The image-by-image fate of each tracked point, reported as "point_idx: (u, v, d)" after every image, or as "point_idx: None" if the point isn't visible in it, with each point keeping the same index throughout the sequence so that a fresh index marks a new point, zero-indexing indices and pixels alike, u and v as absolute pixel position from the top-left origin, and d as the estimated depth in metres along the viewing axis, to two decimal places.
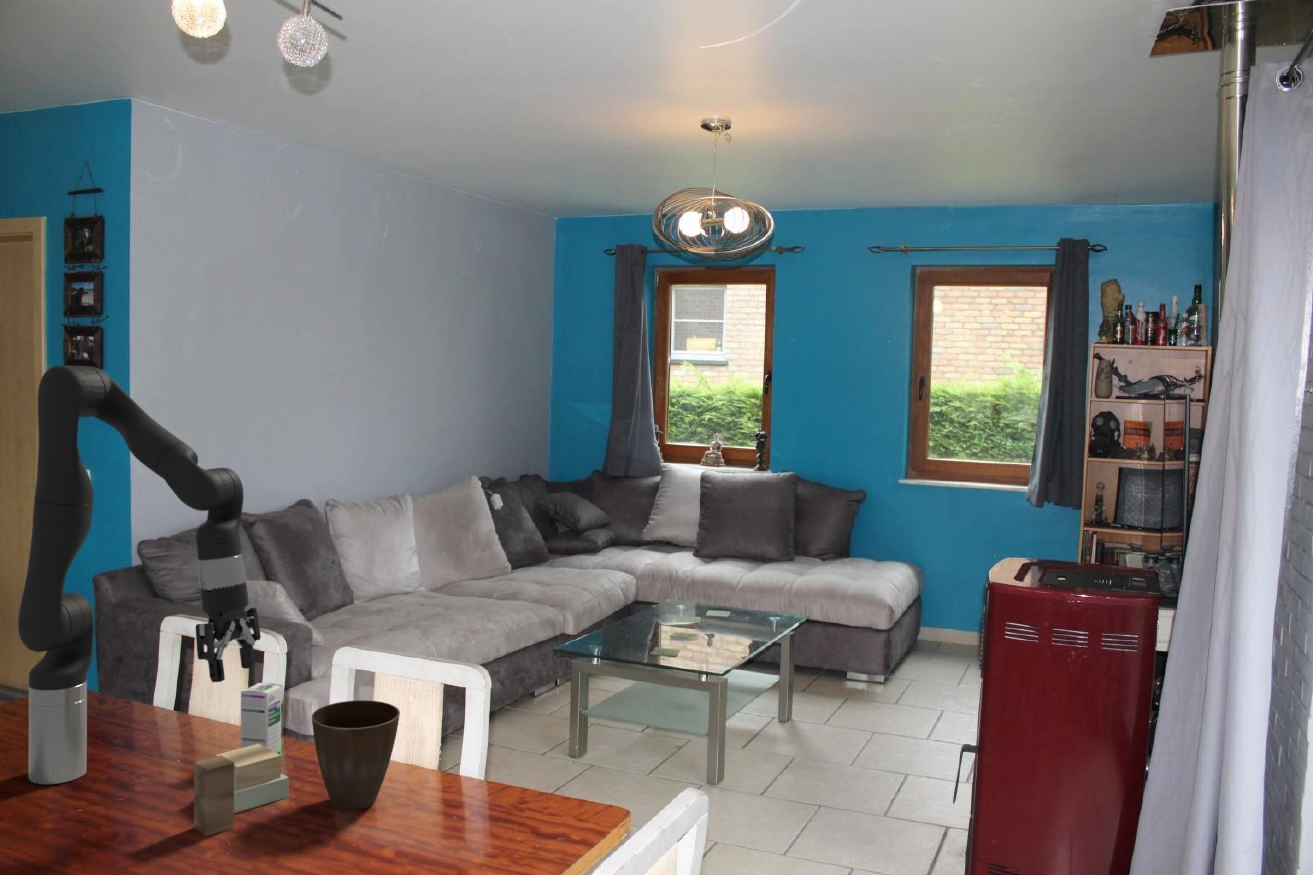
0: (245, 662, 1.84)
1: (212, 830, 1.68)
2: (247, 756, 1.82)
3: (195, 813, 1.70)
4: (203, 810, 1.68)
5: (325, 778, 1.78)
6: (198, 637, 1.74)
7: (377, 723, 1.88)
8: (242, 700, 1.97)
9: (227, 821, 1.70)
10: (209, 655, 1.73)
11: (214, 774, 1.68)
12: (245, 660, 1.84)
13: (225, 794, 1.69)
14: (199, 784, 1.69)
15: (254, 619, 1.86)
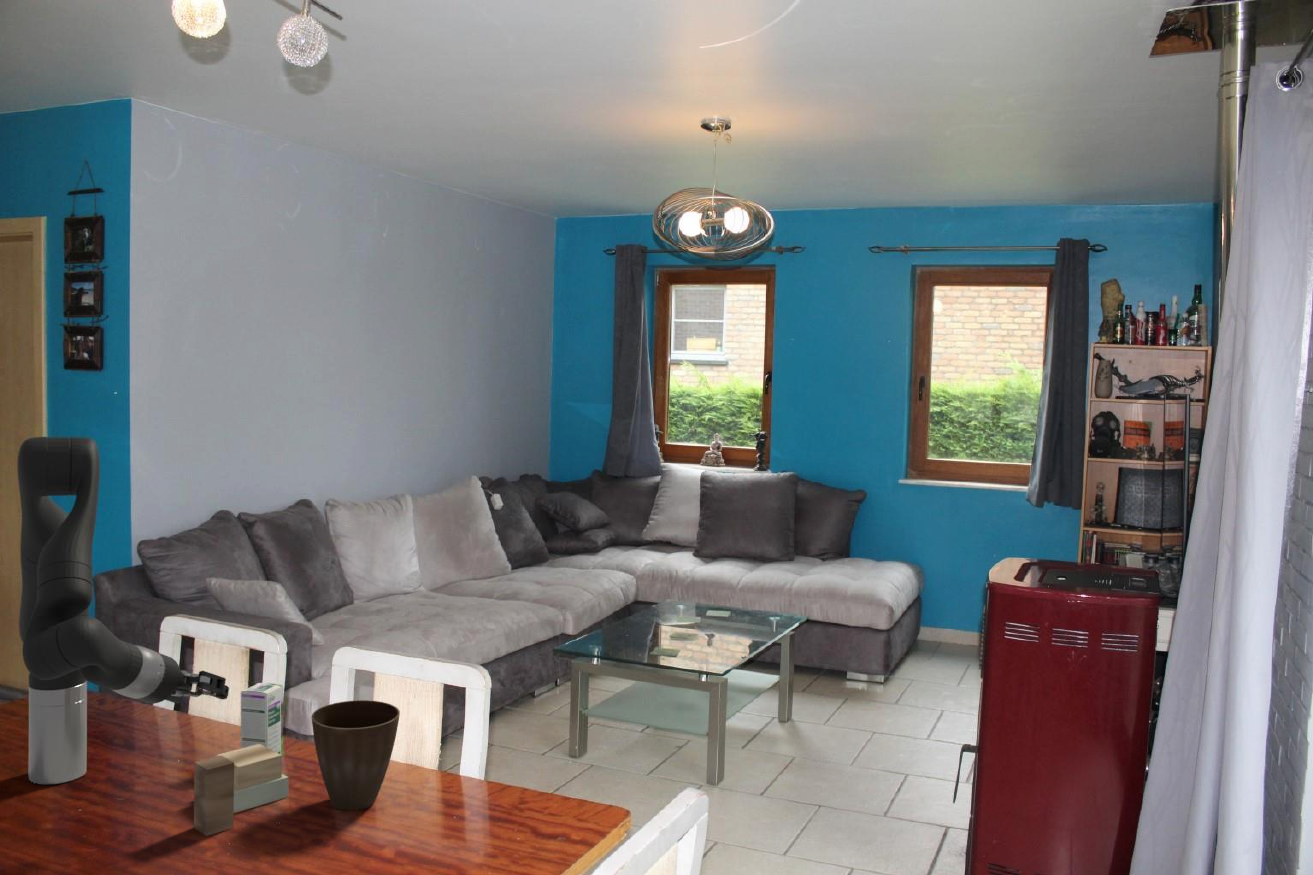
0: None
1: (212, 830, 1.68)
2: (248, 756, 1.82)
3: (195, 813, 1.70)
4: (203, 810, 1.68)
5: (325, 778, 1.78)
6: None
7: (377, 723, 1.88)
8: (242, 700, 1.97)
9: (227, 821, 1.70)
10: None
11: (214, 774, 1.68)
12: None
13: (225, 794, 1.69)
14: (199, 784, 1.69)
15: None
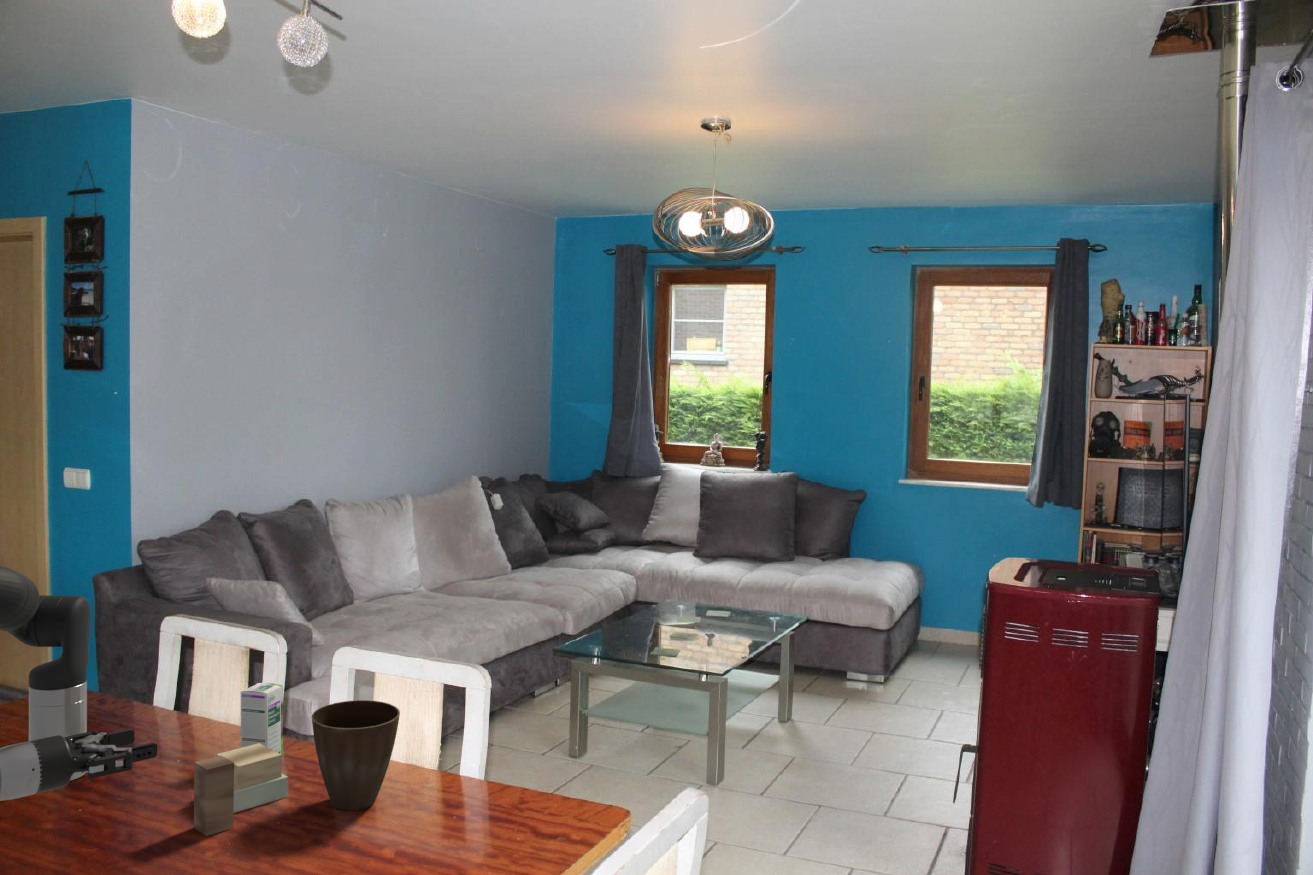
0: None
1: (212, 830, 1.68)
2: (248, 756, 1.82)
3: (195, 813, 1.70)
4: (203, 810, 1.68)
5: (325, 778, 1.78)
6: None
7: (377, 723, 1.88)
8: (242, 700, 1.97)
9: (227, 821, 1.70)
10: None
11: (214, 774, 1.68)
12: None
13: (225, 794, 1.69)
14: (199, 784, 1.69)
15: None
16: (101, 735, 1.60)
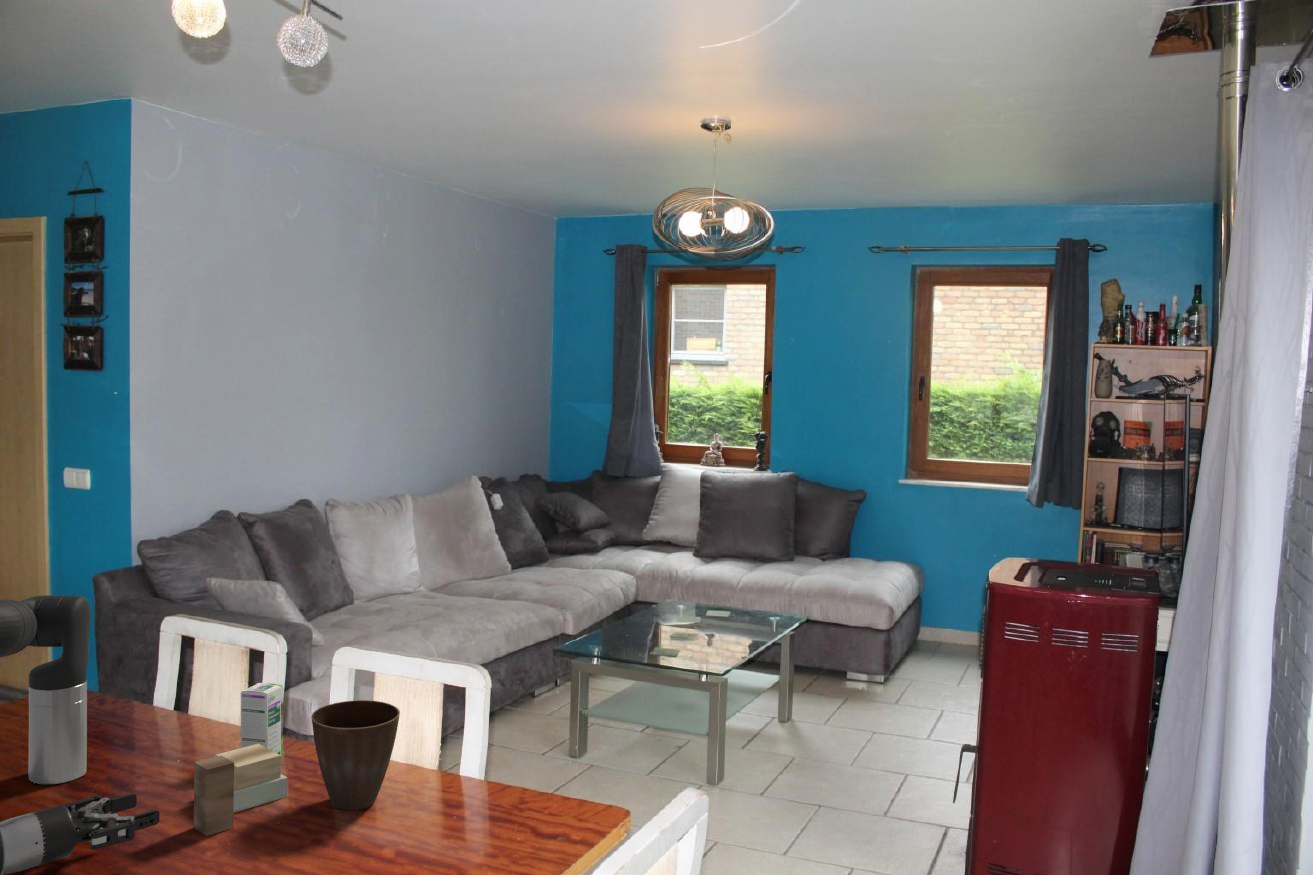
0: None
1: (212, 830, 1.68)
2: (247, 756, 1.82)
3: (195, 813, 1.70)
4: (203, 810, 1.68)
5: (325, 778, 1.78)
6: None
7: (377, 723, 1.88)
8: (242, 700, 1.97)
9: (227, 821, 1.70)
10: None
11: (214, 774, 1.68)
12: None
13: (225, 794, 1.69)
14: (199, 784, 1.69)
15: None
16: (104, 801, 1.61)
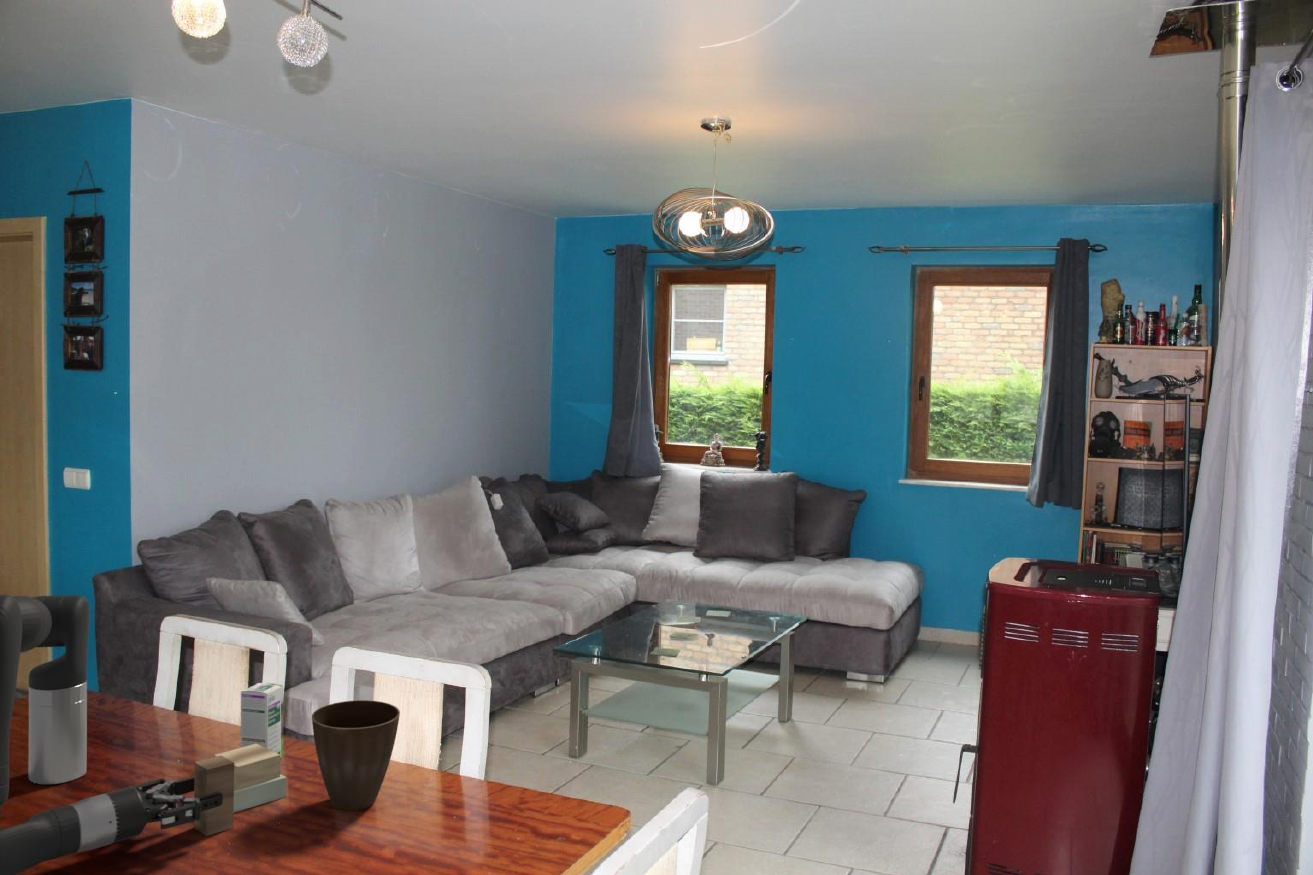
0: None
1: (212, 830, 1.68)
2: (246, 756, 1.82)
3: None
4: None
5: (325, 778, 1.78)
6: None
7: (377, 723, 1.88)
8: (242, 700, 1.97)
9: (227, 821, 1.70)
10: None
11: (214, 774, 1.68)
12: None
13: (225, 794, 1.69)
14: (199, 784, 1.69)
15: None
16: (168, 784, 1.69)
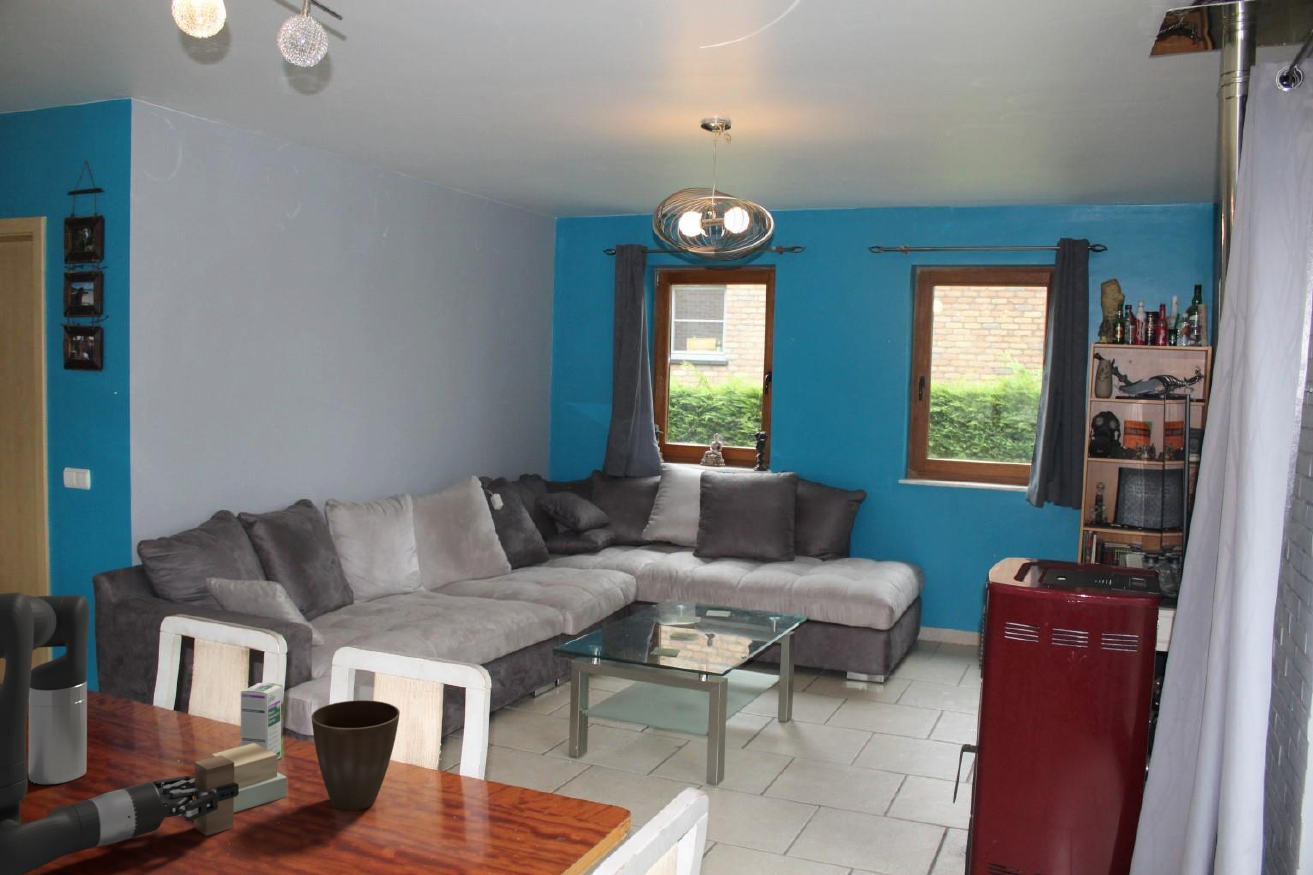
0: None
1: (212, 830, 1.68)
2: (243, 756, 1.82)
3: None
4: None
5: (325, 778, 1.78)
6: None
7: (377, 723, 1.88)
8: (242, 700, 1.97)
9: (227, 821, 1.70)
10: None
11: (214, 774, 1.68)
12: None
13: None
14: (199, 784, 1.69)
15: None
16: (193, 781, 1.70)
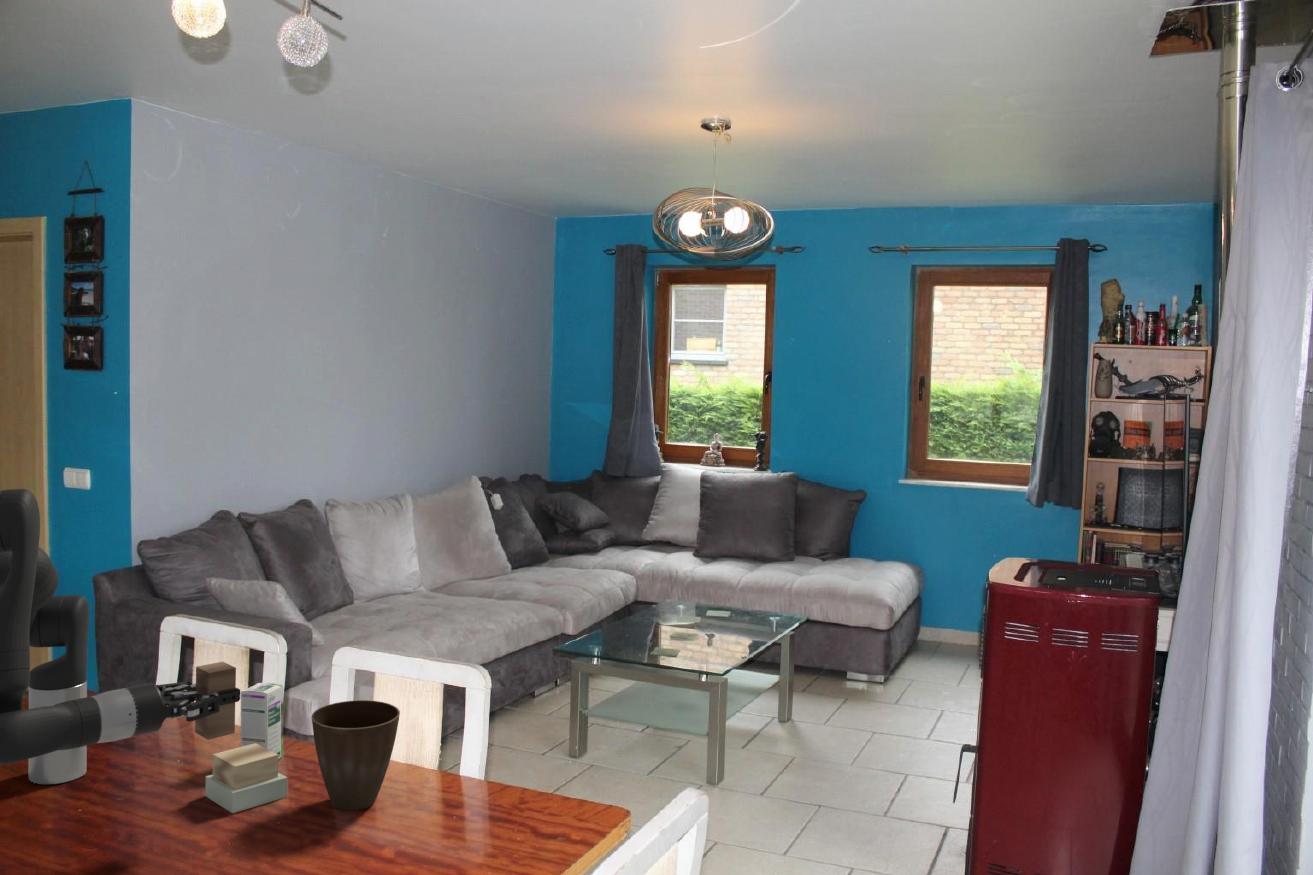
0: None
1: (213, 734, 1.67)
2: (244, 756, 1.82)
3: None
4: None
5: (325, 778, 1.78)
6: None
7: (377, 723, 1.88)
8: (242, 700, 1.97)
9: (229, 726, 1.69)
10: None
11: (216, 678, 1.67)
12: None
13: None
14: (201, 688, 1.68)
15: None
16: (195, 685, 1.69)
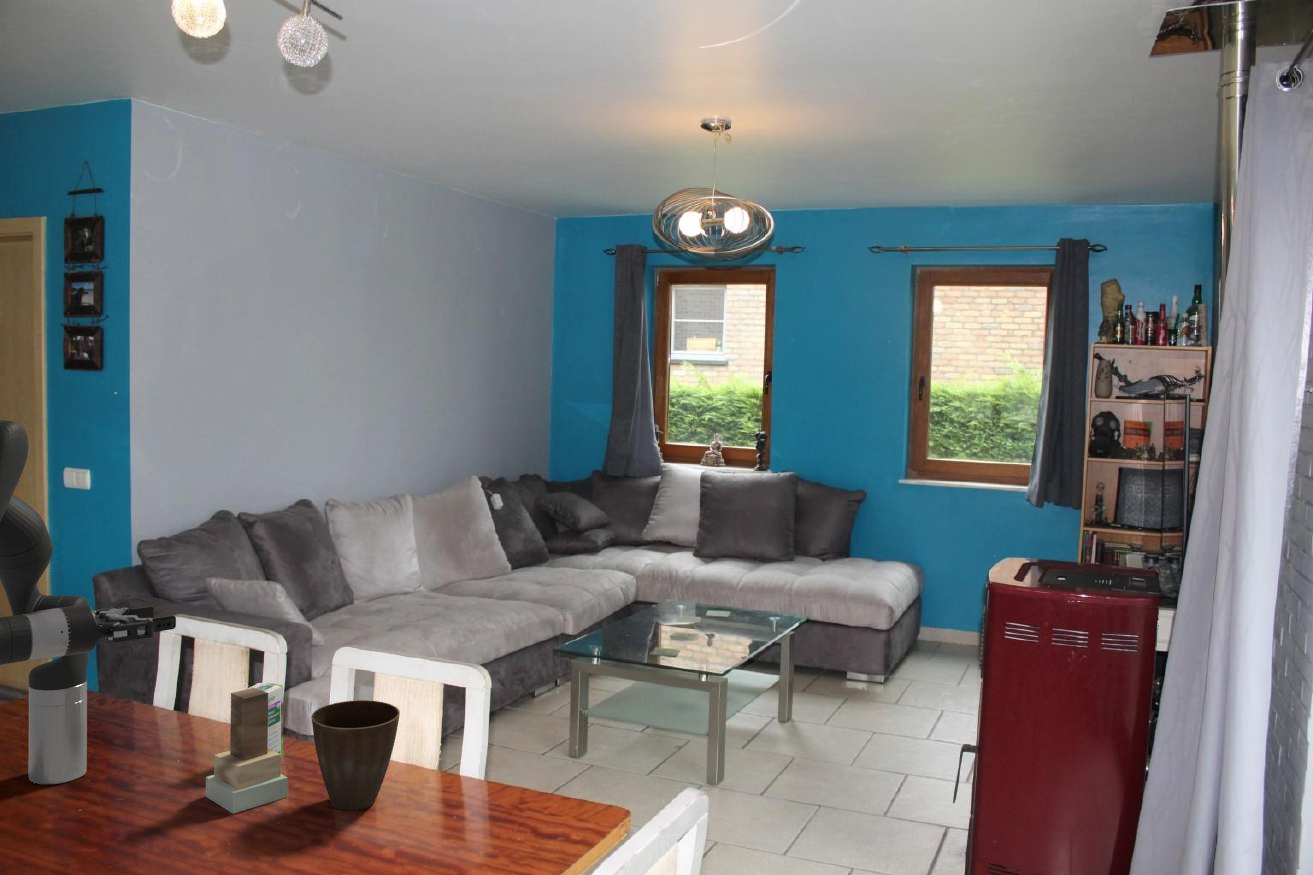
0: None
1: (249, 755, 1.81)
2: None
3: (231, 740, 1.82)
4: (240, 737, 1.81)
5: (325, 778, 1.78)
6: None
7: (377, 723, 1.88)
8: None
9: (262, 748, 1.83)
10: None
11: (251, 703, 1.81)
12: None
13: (260, 722, 1.82)
14: (236, 713, 1.81)
15: None
16: (123, 609, 1.71)
